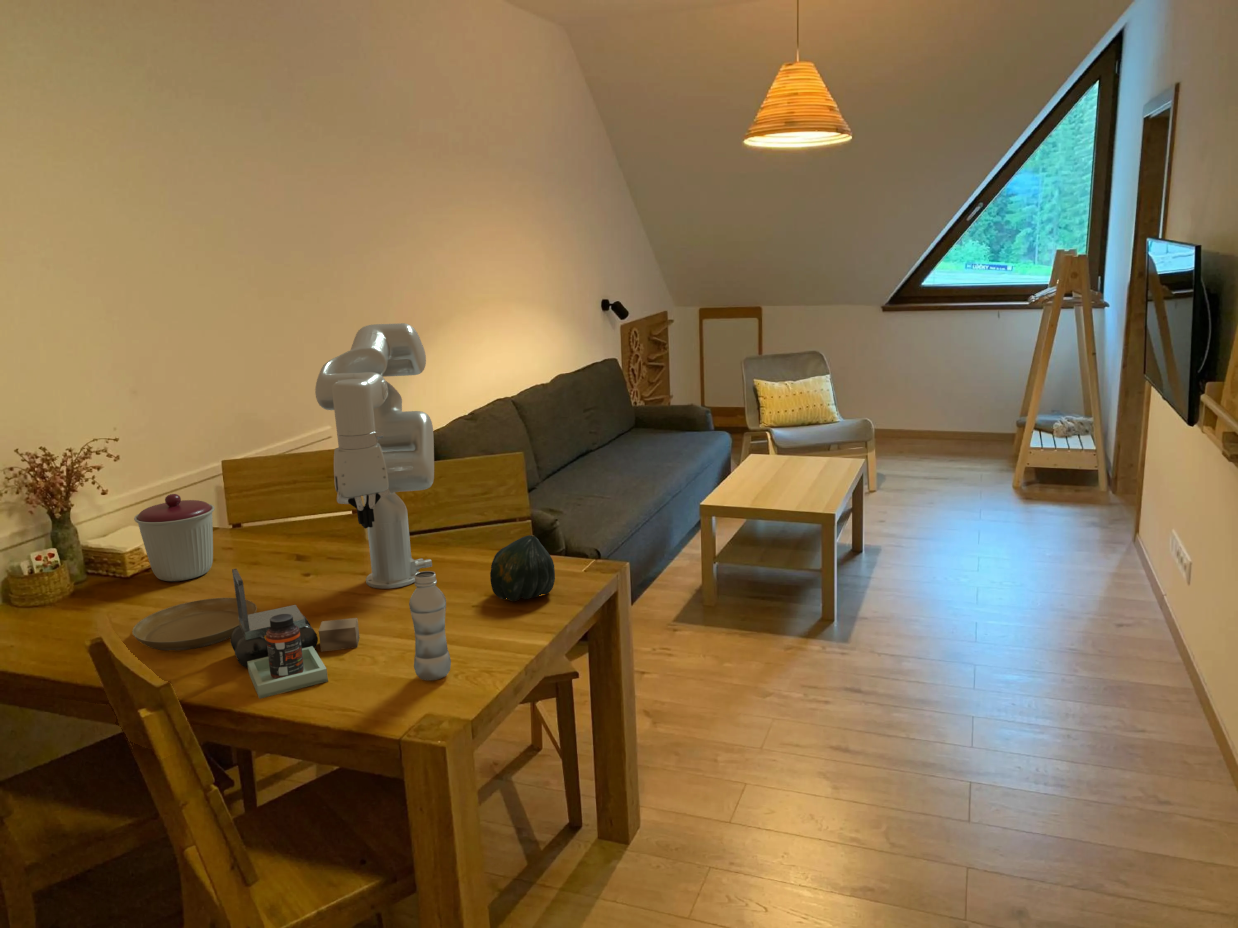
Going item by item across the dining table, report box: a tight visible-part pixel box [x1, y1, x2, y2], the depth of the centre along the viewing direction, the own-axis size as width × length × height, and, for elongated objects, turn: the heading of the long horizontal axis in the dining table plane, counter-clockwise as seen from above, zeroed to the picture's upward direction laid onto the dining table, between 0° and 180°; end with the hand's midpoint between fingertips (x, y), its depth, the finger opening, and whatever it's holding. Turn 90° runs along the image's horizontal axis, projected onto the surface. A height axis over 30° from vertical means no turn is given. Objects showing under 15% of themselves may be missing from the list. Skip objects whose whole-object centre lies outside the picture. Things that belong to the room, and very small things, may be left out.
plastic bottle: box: [408, 570, 452, 681], centre depth 164 cm, size 6×7×20 cm
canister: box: [133, 493, 215, 582], centre depth 225 cm, size 18×18×21 cm
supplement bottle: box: [265, 614, 304, 679], centre depth 166 cm, size 6×6×11 cm
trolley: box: [229, 568, 319, 669], centre depth 176 cm, size 15×9×18 cm, turn 120°
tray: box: [247, 646, 329, 700], centre depth 167 cm, size 12×12×2 cm
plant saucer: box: [132, 597, 258, 651], centre depth 191 cm, size 24×24×3 cm
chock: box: [318, 617, 360, 652], centre depth 181 cm, size 7×5×4 cm
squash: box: [489, 534, 556, 602], centre depth 203 cm, size 14×15×15 cm
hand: (366, 525), depth 187 cm, fingers closed
